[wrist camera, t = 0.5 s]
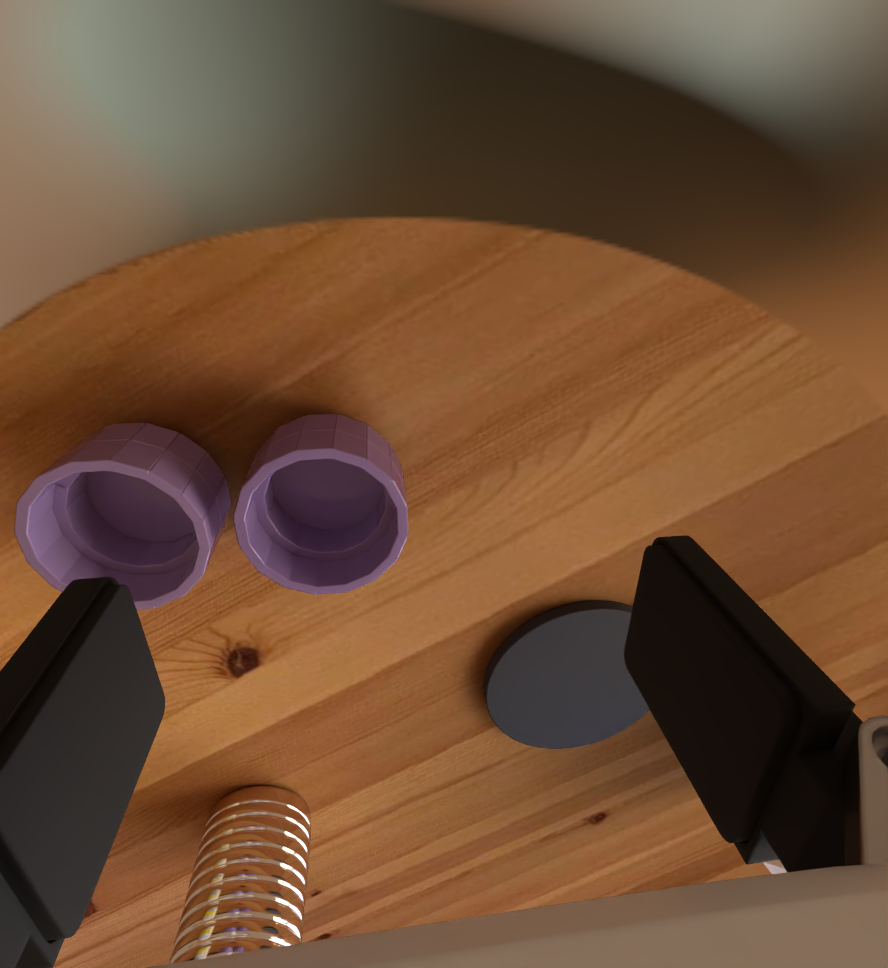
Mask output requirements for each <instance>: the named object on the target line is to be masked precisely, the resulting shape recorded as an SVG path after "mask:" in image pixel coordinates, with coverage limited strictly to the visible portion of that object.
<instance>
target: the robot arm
mask: <svg viewBox="0 0 888 968" xmlns="http://www.w3.org/2000/svg"><path fill="white" fill-rule="evenodd" d="M624 660H625V664H626V668H627V670H628V672H629V673H630V675H631V677H632V679H633V681H634V682H635V684H636V686H637V688H638V689H639V691H640V693H641V695H642V697H643V698H644V700H645V702H646V704H647V705H648V707H649V709H650V711H651V712H652V714H653V716H654V718H655V720H656V721H657V723H658V725H659V727H660V728H661V730H662V732H663V734H664V735H665V737H666V739H667V741H668V743H669V744H670V746H671V748H672V750H673V751H674V753H675V755H676V757H677V759H678V760H679V762H680V764H681V766H682V767H683V769H684V771H685V773H686V774H687V776H688V778H689V780H690V782H691V783H692V785H693V787H694V789H695V790H696V792H697V794H698V796H699V797H700V799H701V801H702V803H703V805H704V806H705V808H706V810H707V812H708V813H709V815H710V817H711V819H712V821H713V822H714V824H715V826H716V828H717V829H718V831H719V833H720V834H721V836H722V837H723V838H724V839H725V840H726V841H727V842H729V843H734V844H735V846H736V847H737V849H738V851H739V853H740V854H741V856H742V858H743V860H744V861H745V863H746V864H753V863H760V862H766V861H773V860H778V859H779V860H780V862H781V863H782V865H783V866H784V868H785V870H786V871H787V873H779V874H771V875H763V876H755V877H747V878H739V879H730V880H723V881H716V882H709V883H702V884H696V885H689V886H682V887H675V888H668V889H661V890H654V891H647V892H640V893H633V894H627V895H620V896H613V897H606V898H599V899H592V900H585V901H578V902H571V903H565V904H558V905H551V906H544V907H538V908H531V909H524V910H518V911H511V912H504V913H498V914H491V915H484V916H478V917H471V918H464V919H458V920H451V921H444V922H438V923H431V924H425V925H418V926H411V927H405V928H398V929H392V930H385V931H378V932H372V933H365V934H359V935H352V936H345V937H339V938H332V939H326V940H319V941H313V942H307V943H300V944H294V945H287V946H281V947H275V948H268V949H262V950H255V951H249V952H243V953H236V954H230V955H223V956H217V957H211V958H204V959H198V960H192V961H185V962H179V963H172V964H166V965H160V966H153V967H147V968H888V716H877V717H872V718H868V719H867V720H866V721H865V722H862V721H861V720H860V719H859V718H858V717H857V716H856V714H855V713H854V712H853V709H854V707H855V704H854V703H853V702H852V701H851V700H850V699H849V698H848V697H847V696H846V695H845V694H844V693H843V691H842V690H841V689H840V688H839V687H838V686H837V685H836V684H835V683H834V682H833V681H832V680H831V679H830V678H829V677H828V676H827V675H826V674H825V673H824V672H823V671H822V670H821V669H820V668H819V667H818V666H817V665H816V664H815V663H814V662H813V661H812V660H811V659H810V658H809V657H808V656H807V655H806V654H805V653H804V652H803V651H802V650H801V649H800V648H799V647H798V646H797V645H796V644H795V643H794V642H793V641H792V640H791V639H790V637H789V636H788V635H787V634H786V633H785V632H784V631H783V630H782V629H781V628H780V627H779V626H778V625H777V624H776V623H775V622H774V621H773V620H772V619H771V618H770V617H769V616H768V615H767V614H766V613H765V612H764V611H763V610H762V609H761V608H760V607H759V606H758V605H757V604H756V603H755V602H754V601H753V600H752V599H751V598H750V597H749V596H748V595H747V594H746V593H745V592H744V591H743V590H742V589H741V588H740V587H739V586H738V585H737V584H736V582H735V581H734V580H733V579H732V578H731V577H730V576H729V575H728V574H727V573H726V572H725V571H724V570H723V569H722V568H721V567H720V566H719V565H718V564H717V563H716V562H715V561H714V560H713V559H712V558H711V557H710V556H709V555H708V554H707V553H706V552H705V551H704V550H703V549H702V548H701V547H700V546H699V545H698V544H697V543H696V542H695V541H694V540H693V539H692V538H691V537H689V536H671V537H659V538H656V539H655V540H654V542H653V544H652V545H651V546H648V547H647V548H646V549H645V551H644V555H643V560H642V565H641V570H640V575H639V580H638V585H637V589H636V594H635V599H634V604H633V609H632V614H631V619H630V623H629V628H628V633H627V638H626V643H625V648H624ZM164 710H165V696H164V692H163V689H162V686H161V683H160V680H159V677H158V674H157V671H156V668H155V665H154V662H153V659H152V656H151V653H150V650H149V647H148V644H147V641H146V638H145V635H144V631H143V628H142V625H141V622H140V619H139V616H138V613H137V610H136V607H135V604H134V601H133V598H132V595H131V592H130V590H129V588H128V586H127V585H124V584H121V585H119V583H118V581H117V580H116V579H115V578H113V577H100V578H86V579H76V580H73V581H72V582H71V583H70V584H68V586H67V587H66V588H65V590H64V591H63V592H62V593H61V595H60V596H59V597H58V598H57V600H56V601H55V602H54V604H53V605H52V606H51V607H50V609H49V610H48V611H47V613H46V614H45V615H44V616H43V618H42V619H41V620H40V622H39V623H38V624H37V625H36V627H35V628H34V629H33V630H32V632H31V633H30V634H29V636H28V637H27V638H26V639H25V641H24V642H23V643H22V645H21V646H20V647H19V648H18V650H17V651H16V652H15V653H14V655H13V656H12V657H11V659H10V660H9V661H8V662H7V664H6V665H5V666H4V668H3V669H2V670H1V671H0V968H51V967H53V965H54V963H55V961H56V958H57V956H58V953H59V951H60V948H61V946H62V944H63V941H64V939H65V938H69V937H72V936H73V935H74V934H75V933H76V931H77V930H78V928H79V927H80V924H81V922H82V920H83V918H84V915H85V913H86V910H87V908H88V905H89V903H90V900H91V897H92V895H93V892H94V890H95V887H96V885H97V882H98V880H99V877H100V875H101V872H102V870H103V867H104V865H105V862H106V860H107V857H108V854H109V852H110V849H111V847H112V844H113V842H114V839H115V837H116V834H117V832H118V829H119V827H120V824H121V822H122V819H123V817H124V814H125V811H126V809H127V806H128V804H129V801H130V799H131V796H132V794H133V791H134V789H135V786H136V784H137V781H138V779H139V776H140V774H141V771H142V768H143V766H144V763H145V761H146V758H147V756H148V753H149V751H150V748H151V746H152V743H153V741H154V738H155V736H156V733H157V731H158V728H159V725H160V723H161V720H162V718H163V715H164Z"/></svg>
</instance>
